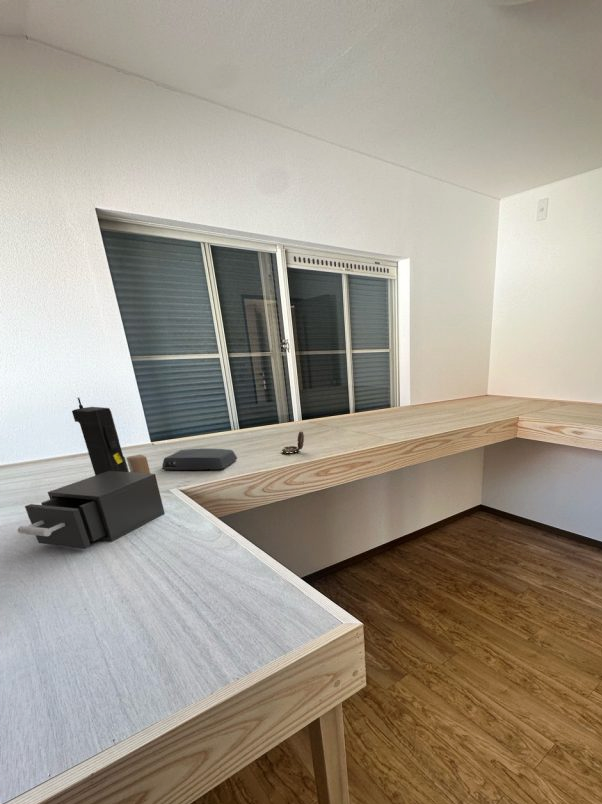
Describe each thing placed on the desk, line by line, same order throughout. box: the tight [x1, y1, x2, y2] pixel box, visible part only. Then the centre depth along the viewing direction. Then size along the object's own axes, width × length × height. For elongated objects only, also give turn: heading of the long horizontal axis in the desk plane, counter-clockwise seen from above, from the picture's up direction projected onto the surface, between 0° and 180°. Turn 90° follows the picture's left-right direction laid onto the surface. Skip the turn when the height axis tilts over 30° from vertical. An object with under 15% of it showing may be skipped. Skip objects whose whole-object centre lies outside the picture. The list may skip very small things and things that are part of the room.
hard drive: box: [161, 447, 238, 471], centre depth 132 cm, size 13×19×4 cm
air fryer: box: [47, 471, 166, 542], centre depth 89 cm, size 15×13×10 cm
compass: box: [281, 430, 305, 453], centre depth 144 cm, size 8×8×7 cm
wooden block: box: [126, 454, 151, 474], centre depth 114 cm, size 4×4×8 cm
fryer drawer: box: [17, 497, 107, 550], centre depth 82 cm, size 18×11×8 cm, turn 166°
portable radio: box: [71, 397, 130, 476], centre depth 100 cm, size 8×6×25 cm
